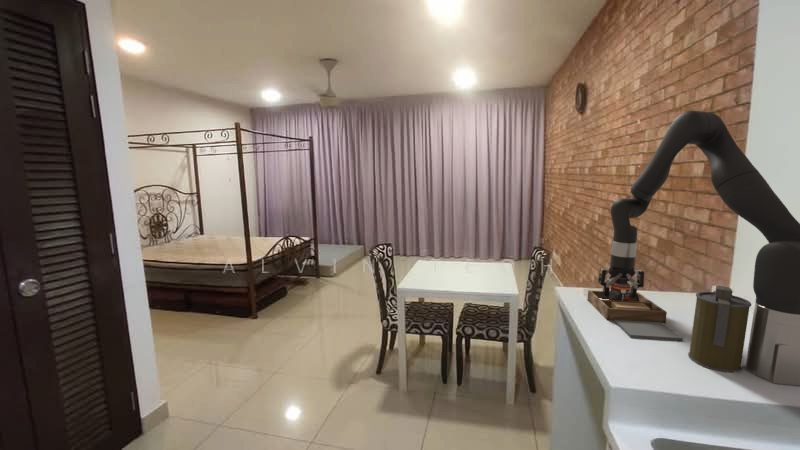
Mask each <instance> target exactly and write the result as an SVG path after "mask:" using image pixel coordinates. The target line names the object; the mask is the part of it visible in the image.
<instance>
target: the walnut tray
mask: <svg viewBox="0 0 800 450" xmlns="http://www.w3.org/2000/svg"><path fill="white" fill-rule="evenodd" d="M599 298H602V299H609V300H600V299H599ZM587 302H589V304H590V305H592V306H593V308H594V309H595V310H596V311H597V312H599V313H600V314H601V316H602V317H603V318H604V319H605V320H607V321H615V320H629V321H646V322H662V323H663V324H664V325H666V323H667V315H668V314H667V311H666V310H665V309H663V308H662V307H660V306H659V305H657V304H656V303H655V302H653V301H651V300H650V299H648V298H647V297H645V296H644V295H643V294H642V293H640V292H637V294H636V297H635V298H631V297H630V294H629V301H617V300H610V290H609V297H606V296H605V295H604V294H603V290H588V291H587ZM612 302H626V303H643V304H645V305H646V306H647V307H649V308H650V310H637V309H618V308H611V304H612Z"/></svg>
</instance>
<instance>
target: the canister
mask: <svg viewBox="0 0 800 450" xmlns="http://www.w3.org/2000/svg"><path fill="white" fill-rule="evenodd" d="M695 297H696V300H695V301H696V302H695V307H694V308H695V309H694V315H693V324H692V330H691V331H692V332H691V339H690V345H689V352H688V353H687V354H688V355H687V356H688V358H689V359H691V361H692V362H695V364H698V365H700V366H703V367H705V368H707V369H710V370H714V371H717V372H723V373H739V372H740V371H742V359H743V353H744V347H745V340H746V333H747V327H748V326H747V325H748V319H749V313H750V307H752V302H751V301H750V300H747V299H745V298H743V297H740V296H738V295H737V296H736V295H733V289H732V288H730V286H722V285H717V286H715V290H713V291H699V292H696V294H695Z"/></svg>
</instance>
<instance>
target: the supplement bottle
mask: <svg viewBox="0 0 800 450" xmlns="http://www.w3.org/2000/svg"><path fill="white" fill-rule="evenodd" d="M627 280H628V279H627V278H618V280H617V281H615V282H614V283H613V284H611V285H610V290H609V291H610V300H617V301H629V294H630V287H631V285H630V283H629V282H628V281H627Z"/></svg>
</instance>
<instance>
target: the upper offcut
mask: <svg viewBox="0 0 800 450" xmlns="http://www.w3.org/2000/svg"><path fill="white" fill-rule="evenodd" d="M611 308H618V309H637V310H650V308H649V307H647V306H646V305H645V304H643V303H626V302H612V304H611Z"/></svg>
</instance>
